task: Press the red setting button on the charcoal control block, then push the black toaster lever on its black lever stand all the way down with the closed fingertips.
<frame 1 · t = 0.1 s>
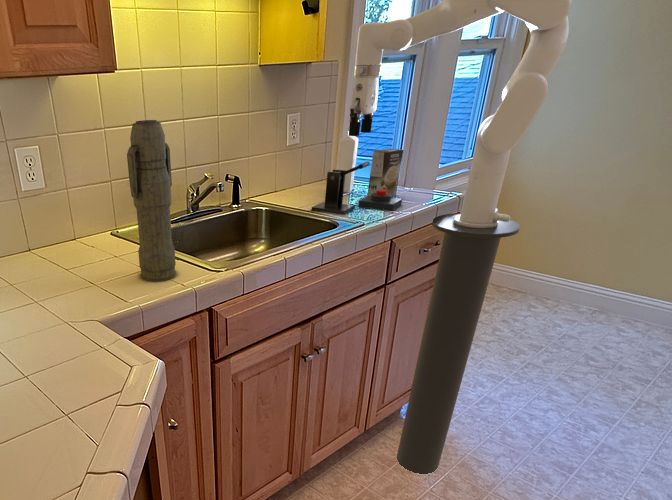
hand: (359, 134, 159), 24 cm above the worktop, tool pointing down, fingers open, 9 cm apart
control block: (379, 206, 175), on the worktop
black lever stand: (332, 209, 174), on the worktop
toaster lever: (348, 171, 165), point 13 cm above the worktop, hinge at 25.0°
grey stone statue: (158, 275, 125), on the worktop
coffee box: (381, 196, 189), on the worktop
milk: (343, 191, 199), on the worktop
setting button: (381, 193, 173), point 4 cm above the worktop, slide at 0.1 cm
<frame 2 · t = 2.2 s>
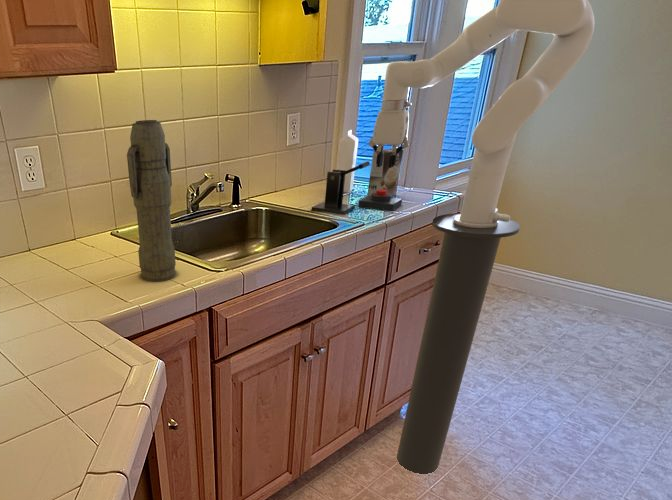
hand: (385, 166, 169), 13 cm above the worktop, tool pointing down, fingers open, 3 cm apart
nothing on the worktop moved.
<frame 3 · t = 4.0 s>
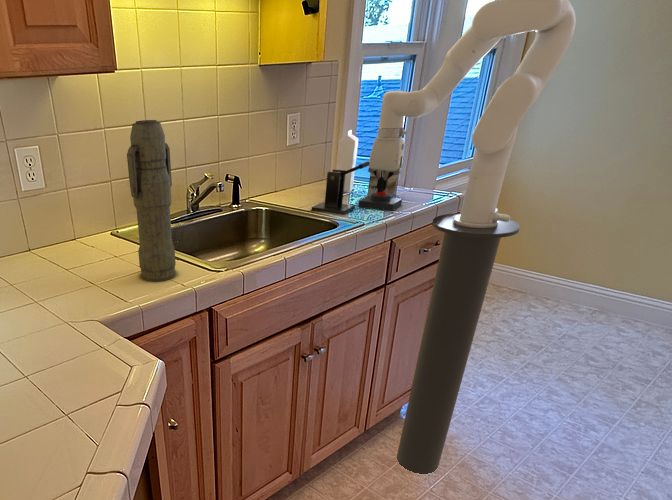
hand: (381, 191, 173), 5 cm above the worktop, tool pointing down, fingers closed
setting button: (381, 193, 173), point 4 cm above the worktop, slide at -0.2 cm, touching gripper
everything else where it was.
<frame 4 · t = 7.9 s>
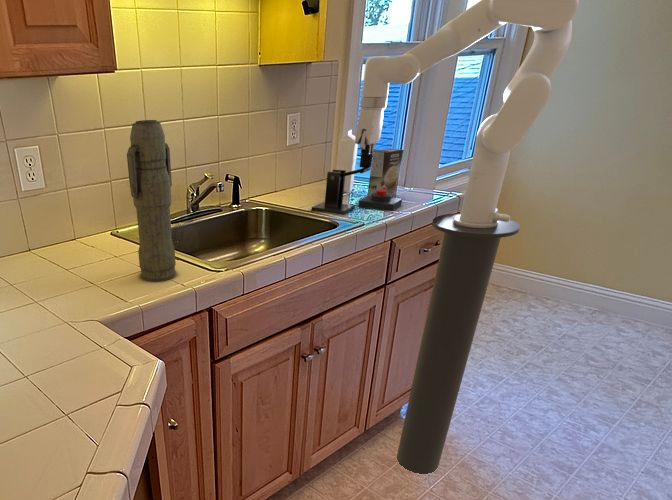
hand: (365, 167, 161), 15 cm above the worktop, tool pointing down, fingers closed
toaster lever: (349, 173, 165), point 12 cm above the worktop, hinge at 16.7°, touching gripper
setting button: (381, 193, 173), point 4 cm above the worktop, slide at 0.1 cm
everything else where it was.
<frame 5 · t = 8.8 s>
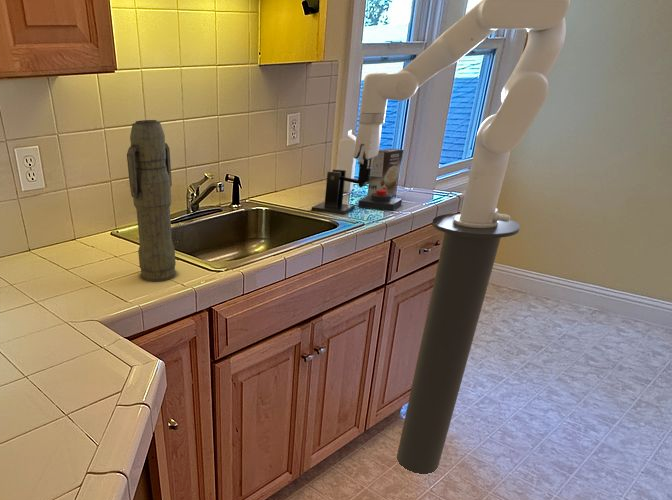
hand: (363, 180, 164), 10 cm above the worktop, tool pointing down, fingers closed
toaster lever: (349, 179, 166), point 10 cm above the worktop, hinge at -8.0°, touching gripper
everything else where it was.
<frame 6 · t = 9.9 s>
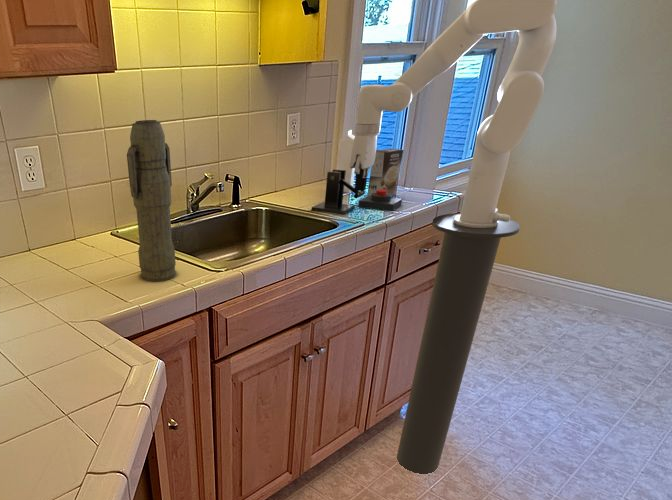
hand: (359, 190, 166), 7 cm above the worktop, tool pointing down, fingers closed
toaster lever: (346, 184, 167), point 9 cm above the worktop, hinge at -29.8°, touching gripper
everything else where it was.
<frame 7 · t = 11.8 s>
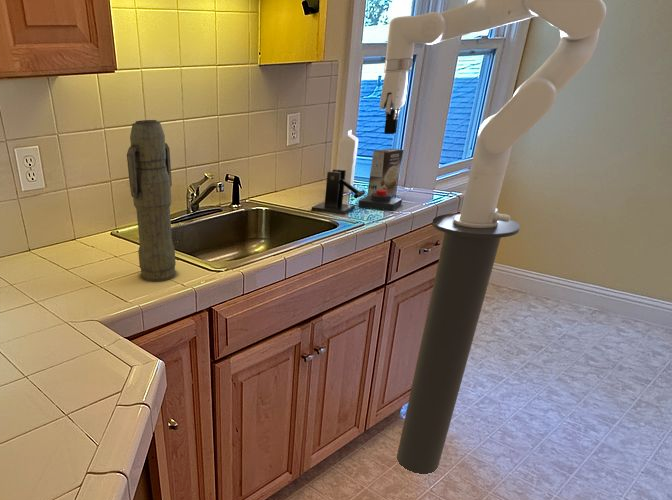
hand: (390, 133, 158), 24 cm above the worktop, tool pointing down, fingers closed
toaster lever: (346, 184, 167), point 9 cm above the worktop, hinge at -29.8°
everything else where it was.
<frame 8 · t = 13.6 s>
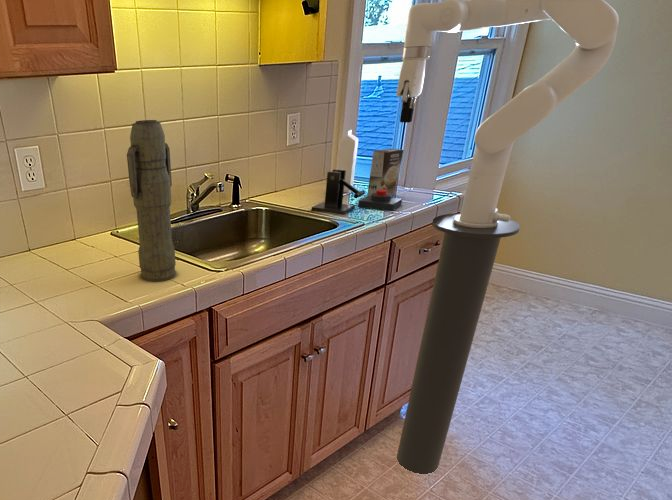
hand: (405, 122, 158), 27 cm above the worktop, tool pointing down, fingers closed
nothing on the worktop moved.
at the end: setting button pushed in 1.1 cm at the most during the clip, back to where it started at the end; setting button slide at 0.1 cm; toaster lever at -30° (first picture: +25°) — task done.
